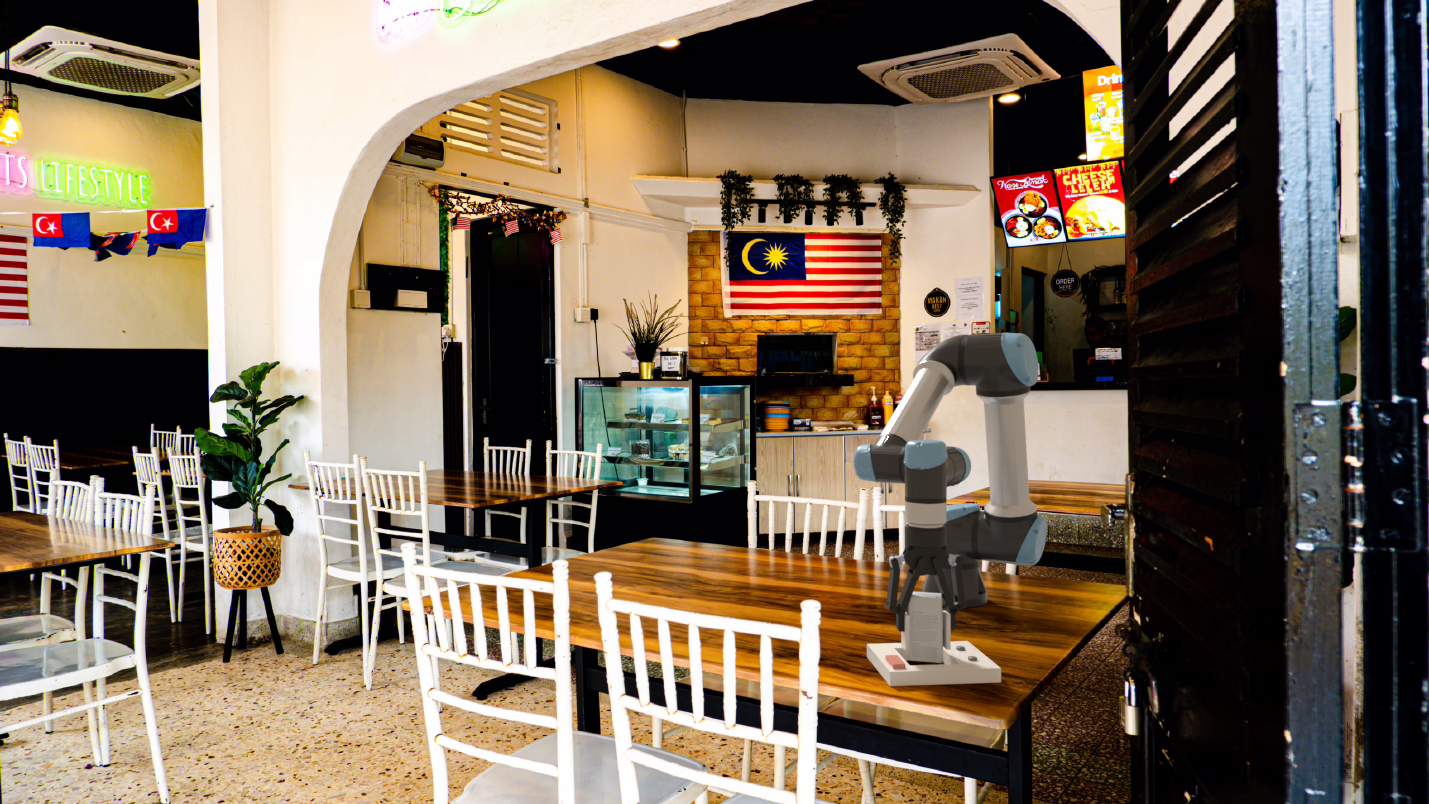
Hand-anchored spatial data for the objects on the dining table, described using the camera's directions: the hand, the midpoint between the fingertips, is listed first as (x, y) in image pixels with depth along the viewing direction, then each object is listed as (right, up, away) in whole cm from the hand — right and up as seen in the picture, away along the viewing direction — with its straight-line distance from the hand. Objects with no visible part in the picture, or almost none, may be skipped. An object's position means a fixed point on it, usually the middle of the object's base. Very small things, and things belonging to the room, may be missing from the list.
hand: (925, 647), depth 158 cm
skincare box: (0, -2, 0) cm, 2 cm away
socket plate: (+1, -4, 0) cm, 4 cm away
